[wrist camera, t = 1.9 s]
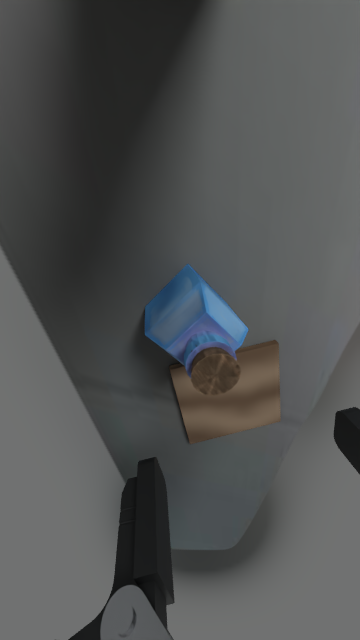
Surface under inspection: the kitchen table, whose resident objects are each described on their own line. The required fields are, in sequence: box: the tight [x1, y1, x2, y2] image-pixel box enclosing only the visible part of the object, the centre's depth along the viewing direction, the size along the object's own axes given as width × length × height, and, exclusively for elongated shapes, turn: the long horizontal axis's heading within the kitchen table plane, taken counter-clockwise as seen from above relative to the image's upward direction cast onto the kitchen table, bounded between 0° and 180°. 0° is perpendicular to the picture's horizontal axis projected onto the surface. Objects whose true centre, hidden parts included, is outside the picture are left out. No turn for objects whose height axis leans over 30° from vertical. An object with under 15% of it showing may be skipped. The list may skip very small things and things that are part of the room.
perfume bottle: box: [145, 264, 249, 396], centre depth 20 cm, size 6×6×12 cm
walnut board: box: [169, 340, 280, 444], centre depth 31 cm, size 13×13×1 cm
